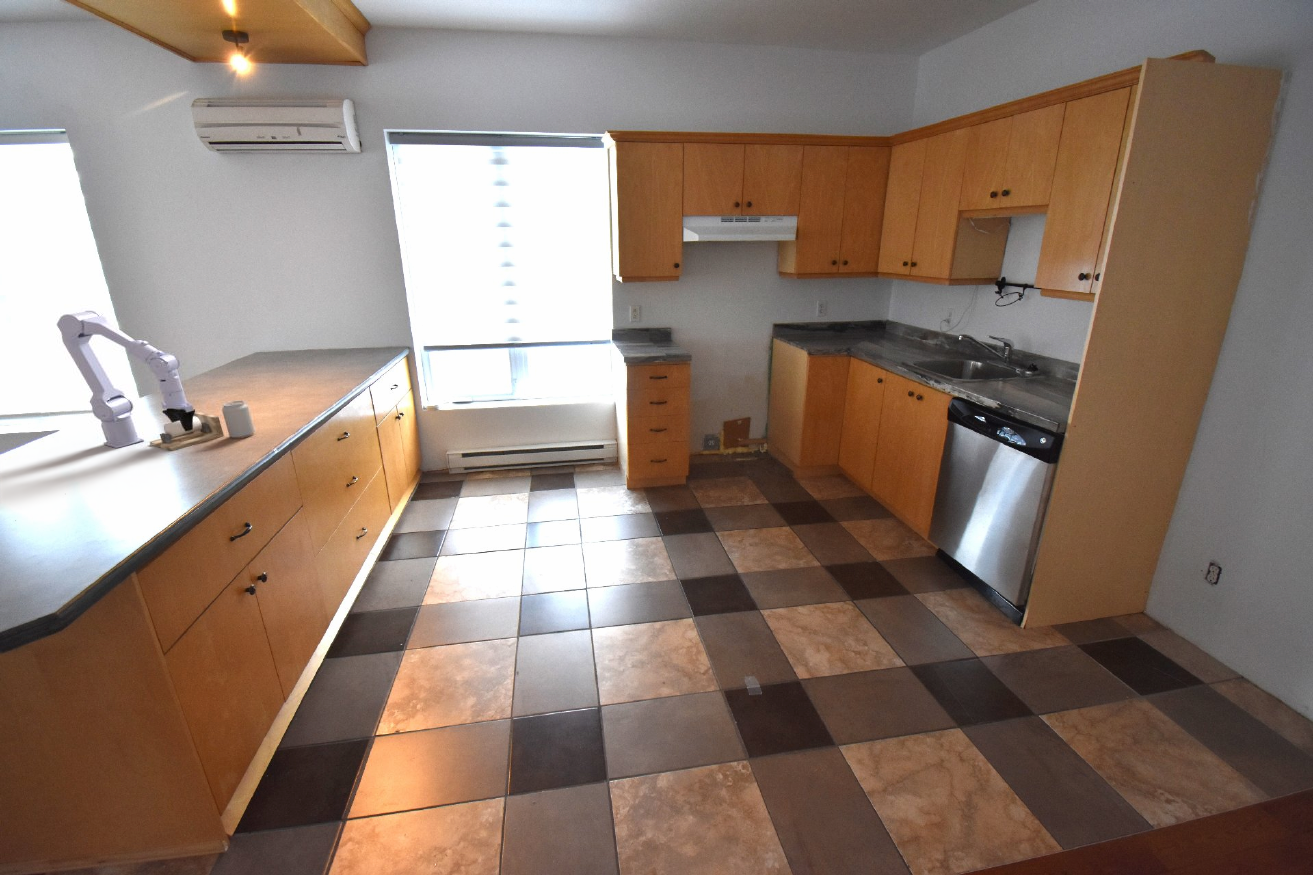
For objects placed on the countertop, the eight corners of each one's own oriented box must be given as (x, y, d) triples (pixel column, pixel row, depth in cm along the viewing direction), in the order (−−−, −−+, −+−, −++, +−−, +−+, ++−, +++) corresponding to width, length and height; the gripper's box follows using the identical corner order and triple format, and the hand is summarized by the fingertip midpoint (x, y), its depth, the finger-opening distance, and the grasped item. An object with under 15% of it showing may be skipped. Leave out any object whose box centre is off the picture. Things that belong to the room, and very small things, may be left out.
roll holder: (150, 444, 201) (143, 425, 199) (202, 430, 214) (196, 411, 212) (171, 450, 195) (165, 430, 192) (224, 435, 208) (218, 416, 206)
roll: (166, 436, 201) (162, 423, 199) (195, 428, 208) (191, 415, 207) (174, 438, 199) (170, 425, 197) (203, 430, 206) (199, 417, 205)
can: (242, 439, 204) (233, 406, 199) (224, 438, 205) (214, 405, 201) (260, 432, 210) (251, 400, 206) (242, 431, 212) (233, 399, 208)
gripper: (146, 391, 198) (159, 430, 203) (171, 396, 192) (183, 435, 197) (170, 386, 204) (181, 424, 209) (195, 390, 198) (206, 429, 203)
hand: (184, 429), depth 203 cm, fingers closed on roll, 4 cm apart
